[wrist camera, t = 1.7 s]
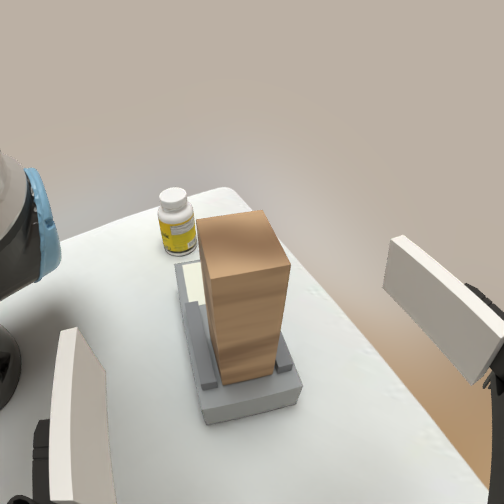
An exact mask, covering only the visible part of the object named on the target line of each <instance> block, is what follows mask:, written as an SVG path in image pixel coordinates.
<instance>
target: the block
mask: <svg viewBox="0 0 504 504" xmlns="http://www.w3.org/2000/svg"><path fill="white" fill-rule="evenodd" d="M196 224H197V234H198V244H199V253H200V262H201V270H202V279H203V287H204V295H205V303H206V310H207V318H208V325H209V332H210V338H211V342H212V346H213V350H214V354H215V358H216V362H217V366H218V370H219V374H220V378H221V381H222V385H228V384H232V383H237V382H241V381H246V380H250V379H255V378H259V377H263V376H267V375H271V374H273V370H274V365H275V359H276V353H277V348H278V342H279V336H280V330H281V324H282V318H283V312H284V306H285V300H286V293H287V287H288V281H289V274H290V268H291V264H290V262H289V260H288V258H287V256H286V254H285V252H284V250H283V248H282V246H281V244H280V242H279V240H278V238H277V237H276V235H275V233H274V231H273V229H272V227H271V225H270V223H269V222H268V219H267V217H266V216H265V214H264V212H263V210H258V211H251V212H244V213H237V214H230V215H223V216H216V217H210V218H203V219H197V220H196Z"/></svg>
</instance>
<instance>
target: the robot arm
mask: <svg viewBox="0 0 504 504" xmlns="http://www.w3.org/2000/svg"><path fill="white" fill-rule="evenodd" d="M60 261H61V247H60V242H59V237H58V233H57V229H56V226H55V223H54V221H53V216H52V212H51V207H50V204H49V201H48V197H47V194H46V191H45V188H44V185H43V182H42V180H41V177H40V175H39V173H38V171H37V170H36V169H35V168H28V169H26V168H25V169H23V168H22V166H21V165H20V163H19V162H18V161H17V160H16V159H15V158H13V157H11V156H9V155H6V154H2V153H1V150H0V301H2V300H3V299H5V298H7V297H8V296H10V295H12V294H14V293H15V292H17V291H19V290H21V289H22V288H24V287H26V286H28V285H30V284H31V283H33V282H34V283H36V282H39V281H40V280H41V279H42V277H44V276H45V275H47V274H48V273H50V272H52V271H53V270H55V269H56V268H57V267H58V265H59V264H60ZM382 288H383V289H384V290H385V291H386V292H387V293H388V294H389V295H390V296H391V297H392V298H393V299H394V300H395V301H396V302H397V303H398V305H399V306H400V307H401V308H402V309H403V310H404V311H405V312H406V313H407V314H408V315H409V316H410V317H411V318H412V319H413V320H414V321H415V323H416V324H417V325H418V326H419V327H420V328H421V329H422V330H423V331H424V332H425V333H426V335H427V336H428V337H429V338H430V339H431V340H432V341H433V342H434V343H435V344H436V346H437V347H438V348H439V349H440V350H441V351H442V352H443V354H444V355H445V356H446V357H447V358H448V359H449V360H450V362H451V363H452V364H453V365H454V366H455V367H456V368H457V370H458V371H459V372H460V373H461V374H462V375H463V377H464V378H465V379H466V380H467V381H468V383H469V384H470V385H473V384H474V383H475V382H477V381H478V380H479V379H481V378H482V377H483V376H484V374H485V373H486V371H487V370H488V368H489V367H490V368H491V369H492V372H491V373H490V375H489V376H488V377H487V379H486V380H485V382H484V384H483V389H485V388H486V386H487V385H488V383H489V382H491V384H490V385H489V387H488V389H491V398H492V461H491V476H490V488H489V496H488V504H504V312H503V311H501V310H500V309H499V308H498V307H497V306H496V305H495V304H492V301H491V300H489V299H488V298H486V297H485V295H484V294H483V293H481V292H480V291H479V290H478V289H477V288H475V287H473V286H471V285H469V284H467V283H465V284H463V283H461V282H460V281H459V280H458V279H457V278H456V277H454V276H453V275H452V274H451V273H450V272H449V271H447V270H446V269H445V268H444V267H443V266H441V265H440V264H439V263H438V262H437V261H435V260H434V259H433V258H432V257H430V256H429V255H428V254H427V253H426V252H424V251H423V250H422V249H421V248H419V247H418V246H417V245H415V244H414V243H413V242H411V241H410V240H409V239H408V238H406V237H405V236H404V235H401V236H398V237H395V238H392V239H390V245H389V252H388V258H387V264H386V270H385V276H384V282H383V287H382ZM20 369H21V357H20V351H19V348H18V345H17V343H16V341H15V340H14V339H13V337H12V336H11V335H10V334H9V332H8V331H7V330H6V329H5V328H4V327H3V326H2V325H0V409H1V408H2V407H3V406H4V405H5V404H6V403H7V402H8V400H9V399H10V397H11V396H12V394H13V392H14V390H15V388H16V385H17V383H18V379H19V375H20ZM33 448H34V450H33V459H34V461H33V470H32V480H33V500H32V499H30V498H28V497H26V496H23V495H16V496H14V497H13V498H11V499H10V500H9V502H8V503H7V504H117V502H116V495H115V489H114V481H113V474H112V465H111V456H110V446H109V434H108V419H107V399H106V371H105V370H104V368H103V367H102V365H101V364H100V362H99V361H98V359H97V358H96V356H95V355H94V353H93V351H92V350H91V348H90V347H89V345H88V344H87V342H86V340H85V339H84V337H83V335H82V334H81V332H80V331H79V329H78V327H75V328H70V329H66V330H62V331H60V337H59V343H58V349H57V356H56V364H55V371H54V380H53V390H52V400H51V414H50V419H46V420H39V422H38V425H37V427H36V429H35V432H34V440H33Z"/></svg>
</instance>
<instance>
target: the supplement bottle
mask: <svg viewBox="0 0 504 504" xmlns="http://www.w3.org/2000/svg"><path fill="white" fill-rule="evenodd" d="M159 199H160V204H161V206H160V207H159V209H158V219H159V225H160V230H161V235H162V239H163V244H164V248H165V250H166V251H167V252H168V253H169V254H171V255H175V256H182V255H186V254H188V253H190V252H192V251H193V250H194V249H195V247H196V245H197V239H196V231H195V222H194V213H193V207H192V205H191V204H190V203H189V202H188V201H187V194H186V191H185V190H183V189H182V188H169V189H166V190H164V191H163V192H162V193H161V194H160V196H159Z"/></svg>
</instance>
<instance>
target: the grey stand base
mask: <svg viewBox="0 0 504 504" xmlns="http://www.w3.org/2000/svg"><path fill="white" fill-rule="evenodd" d="M174 265H175V272H176V279H177V285H178V292H179V298H180V304H181V310H182V316H183V321H184V327H185V333H186V338H187V343H188V349H189V354H190V359H191V364H192V369H193V374H194V378H195V383H196V388H197V392H198V397H199V401H200V406H201V410H202V413H203V416H204V419H205V422H206V425H210V424H215V423H220V422H225V421H229V420H234V419H238V418H243V417H247V416H251V415H256V414H260V413H264V412H268V411H271V410H275V409H279V408H282V407H286V406H290V405H293V404H296V402H297V400H298V397H299V395H300V392H301V390H302V387H303V384H302V382H301V380H300V377H299V375H298V372H297V370H296V367H295V365H294V362H293V360H292V357H291V355H290V352H289V350H288V347H287V345H286V342H285V340H284V338H283V335H282V333H281V330H280V336H279V342H278V348H277V353H276V359H275V365H274V370H273V374H271V375H267V376H263V377H259V378H255V379H250V380H246V381H241V382H237V383H232V384H228V385H222V381H221V378H220V374H219V370H218V366H217V362H216V358H215V354H214V350H213V346H212V342H211V338H210V332H209V325H208V318H207V310H206V303H205V295H204V287H203V279H202V270H201V262H200V260H195V261H190V262H184V263H178V264H174Z"/></svg>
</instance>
